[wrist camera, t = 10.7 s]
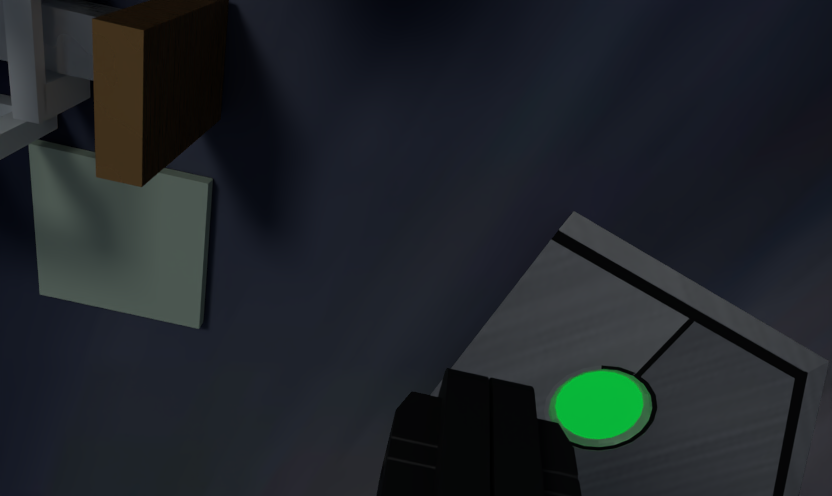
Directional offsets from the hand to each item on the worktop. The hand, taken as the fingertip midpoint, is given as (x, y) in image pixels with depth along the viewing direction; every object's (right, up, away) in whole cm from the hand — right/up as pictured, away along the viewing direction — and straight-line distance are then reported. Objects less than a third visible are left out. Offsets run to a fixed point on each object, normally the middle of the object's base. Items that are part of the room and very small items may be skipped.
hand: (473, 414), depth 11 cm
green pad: (-15, +3, +20) cm, 25 cm away
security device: (+11, -6, +24) cm, 27 cm away
